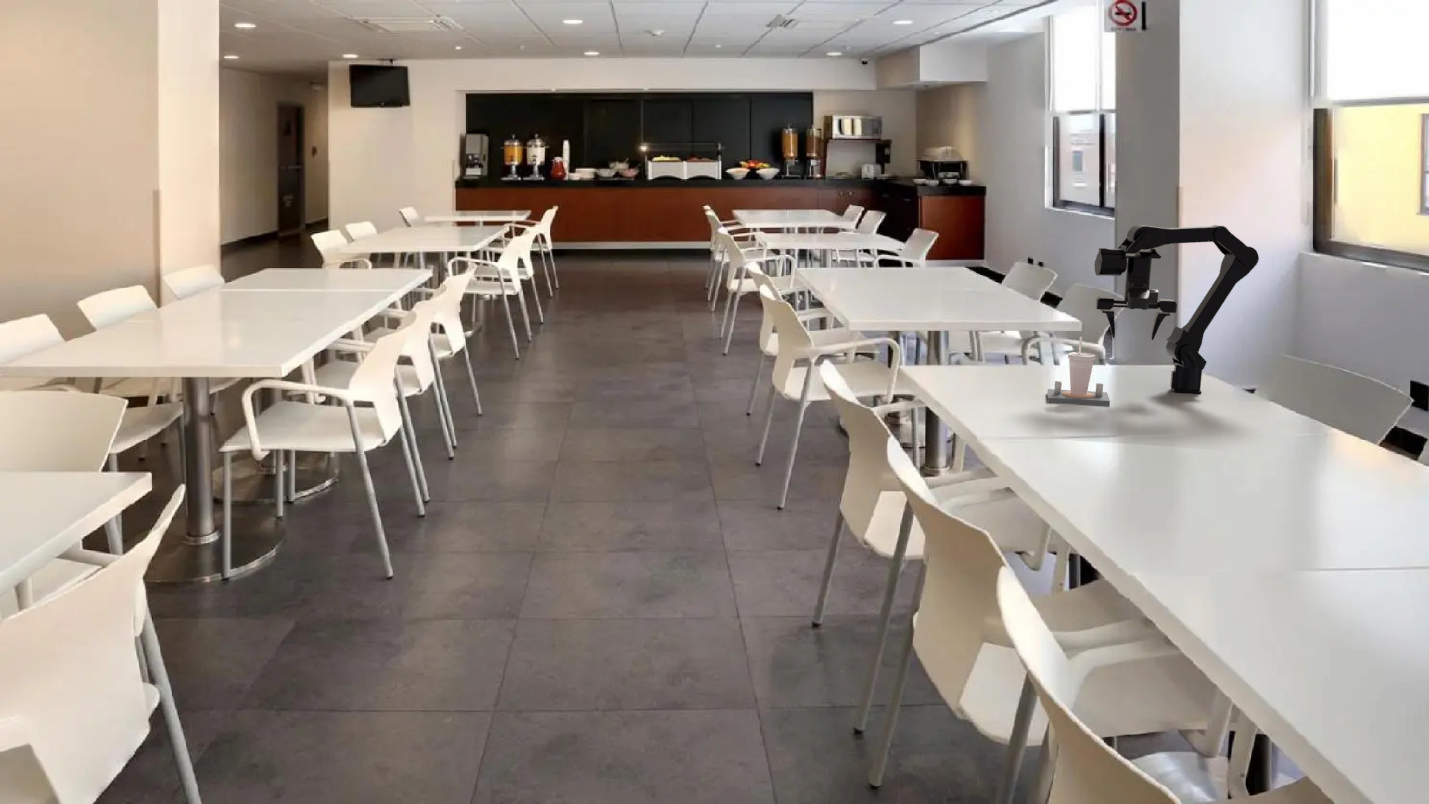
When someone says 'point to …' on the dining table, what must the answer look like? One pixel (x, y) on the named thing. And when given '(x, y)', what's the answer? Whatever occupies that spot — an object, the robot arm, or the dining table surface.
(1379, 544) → the dining table surface
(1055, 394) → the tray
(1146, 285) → the robot arm
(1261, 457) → the dining table surface
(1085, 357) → the smoothie
